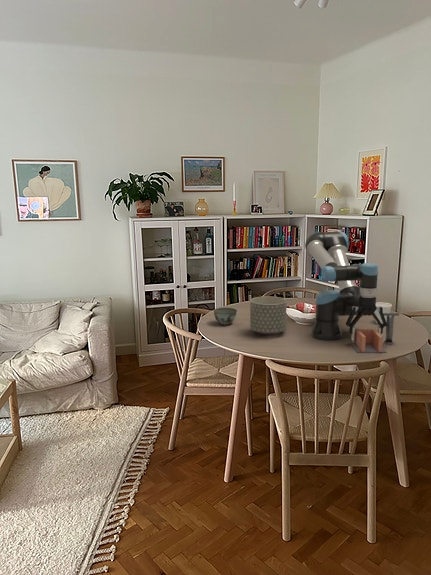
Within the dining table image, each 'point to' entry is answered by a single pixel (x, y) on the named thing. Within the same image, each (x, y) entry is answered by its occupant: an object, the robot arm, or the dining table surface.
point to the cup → (386, 309)
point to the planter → (268, 315)
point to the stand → (389, 327)
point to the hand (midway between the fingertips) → (365, 340)
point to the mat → (367, 348)
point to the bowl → (225, 315)
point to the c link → (368, 339)
